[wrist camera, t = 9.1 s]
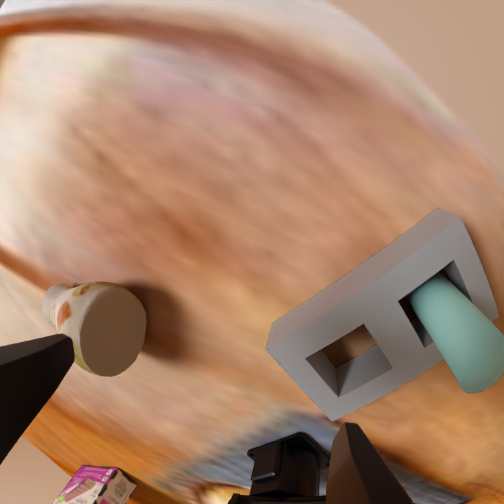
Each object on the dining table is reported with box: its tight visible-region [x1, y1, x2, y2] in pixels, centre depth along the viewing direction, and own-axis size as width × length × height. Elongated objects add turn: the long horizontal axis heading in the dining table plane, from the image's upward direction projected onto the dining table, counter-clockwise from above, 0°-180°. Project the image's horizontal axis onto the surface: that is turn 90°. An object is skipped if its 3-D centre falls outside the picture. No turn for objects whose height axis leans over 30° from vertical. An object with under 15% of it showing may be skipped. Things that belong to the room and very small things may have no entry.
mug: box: [42, 282, 147, 377], centre depth 21 cm, size 8×10×10 cm
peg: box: [405, 272, 504, 393], centre depth 14 cm, size 3×3×10 cm
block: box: [266, 208, 499, 421], centre depth 18 cm, size 8×14×4 cm, turn 129°
